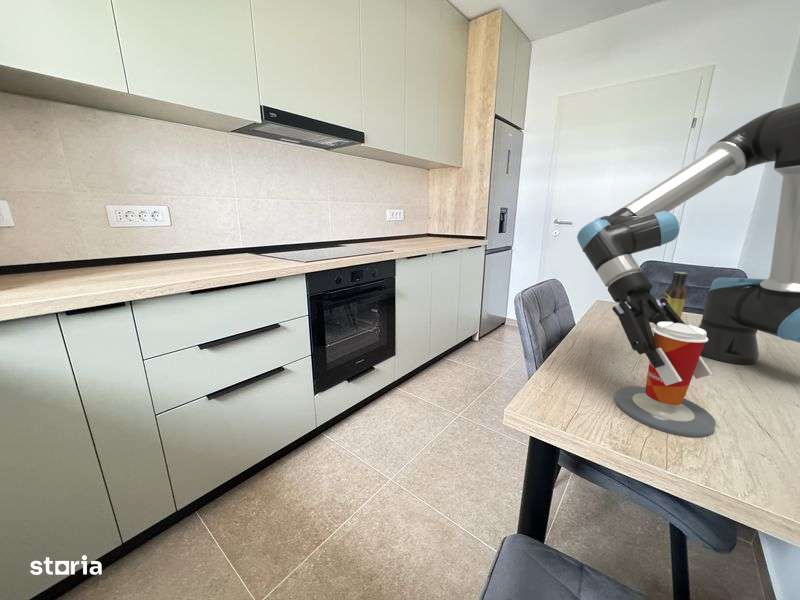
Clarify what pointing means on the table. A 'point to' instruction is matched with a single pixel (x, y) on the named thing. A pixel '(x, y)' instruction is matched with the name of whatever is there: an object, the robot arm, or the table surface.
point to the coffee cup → (675, 360)
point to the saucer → (665, 413)
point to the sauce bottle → (677, 292)
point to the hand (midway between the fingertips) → (689, 379)
